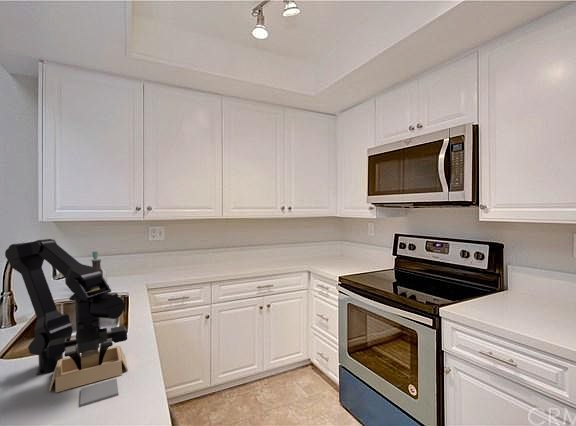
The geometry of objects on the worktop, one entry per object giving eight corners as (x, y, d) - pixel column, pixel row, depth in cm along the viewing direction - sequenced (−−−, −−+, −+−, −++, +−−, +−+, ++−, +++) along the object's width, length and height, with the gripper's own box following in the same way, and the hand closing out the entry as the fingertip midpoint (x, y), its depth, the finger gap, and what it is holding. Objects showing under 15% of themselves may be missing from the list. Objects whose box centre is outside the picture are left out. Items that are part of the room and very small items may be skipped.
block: (82, 368, 91) (81, 348, 91) (98, 364, 93) (97, 344, 93) (81, 380, 85) (80, 358, 85) (99, 376, 87) (98, 354, 87)
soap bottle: (107, 287, 189) (106, 249, 189) (104, 291, 180) (102, 252, 179) (89, 289, 186) (87, 251, 186) (84, 293, 177) (83, 253, 176)
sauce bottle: (88, 298, 167) (87, 261, 166) (90, 295, 173) (89, 259, 172) (102, 296, 170) (101, 259, 169) (104, 293, 175) (103, 258, 175)
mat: (81, 392, 80) (81, 388, 80) (116, 381, 85) (116, 378, 84) (80, 408, 74) (79, 404, 73) (118, 396, 78) (118, 392, 78)
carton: (54, 372, 90) (53, 359, 90) (124, 355, 100) (123, 342, 100) (48, 397, 78) (47, 381, 78) (128, 375, 88) (127, 360, 88)
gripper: (42, 333, 76) (45, 396, 76) (127, 316, 86) (130, 372, 86) (47, 319, 85) (50, 375, 86) (124, 306, 95) (126, 356, 96)
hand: (90, 370), depth 88 cm, fingers closed on block, 4 cm apart
